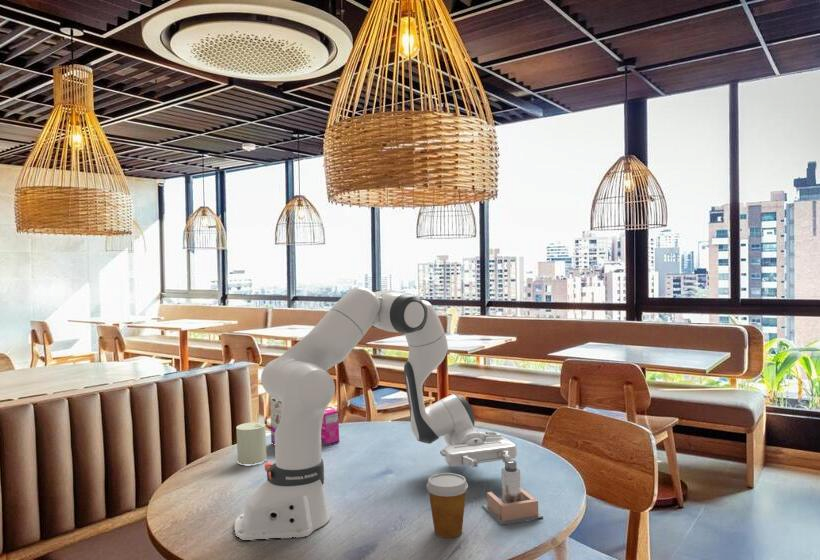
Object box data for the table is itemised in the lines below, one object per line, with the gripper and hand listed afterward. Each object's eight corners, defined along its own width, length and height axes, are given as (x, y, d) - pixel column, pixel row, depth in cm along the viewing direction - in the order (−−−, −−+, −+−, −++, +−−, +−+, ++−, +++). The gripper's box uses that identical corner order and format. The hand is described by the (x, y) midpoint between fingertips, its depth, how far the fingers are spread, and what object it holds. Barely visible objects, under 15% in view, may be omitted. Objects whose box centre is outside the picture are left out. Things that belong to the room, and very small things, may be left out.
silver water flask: (507, 515, 136) (506, 465, 136) (499, 507, 140) (498, 459, 140) (524, 512, 137) (523, 463, 137) (515, 505, 142) (514, 457, 141)
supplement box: (316, 442, 200) (315, 410, 199) (331, 439, 204) (330, 407, 203) (325, 446, 195) (324, 413, 195) (340, 442, 199) (339, 410, 199)
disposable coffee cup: (466, 521, 135) (464, 471, 134) (471, 540, 125) (470, 486, 125) (426, 523, 134) (424, 472, 134) (428, 542, 125) (427, 488, 125)
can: (259, 466, 176) (258, 428, 176) (231, 466, 178) (230, 428, 178) (271, 457, 186) (270, 420, 185) (245, 456, 187) (243, 420, 187)
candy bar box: (298, 447, 195) (297, 400, 194) (285, 451, 191) (284, 402, 191) (283, 440, 203) (282, 395, 203) (270, 443, 200) (269, 397, 200)
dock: (500, 525, 132) (500, 508, 132) (482, 506, 143) (481, 490, 143) (543, 518, 135) (542, 501, 135) (521, 500, 146) (521, 485, 146)
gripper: (437, 439, 160) (454, 454, 147) (503, 431, 166) (525, 445, 153) (438, 461, 161) (455, 478, 147) (504, 453, 166) (526, 469, 153)
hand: (491, 462), depth 150 cm, fingers open, 8 cm apart
